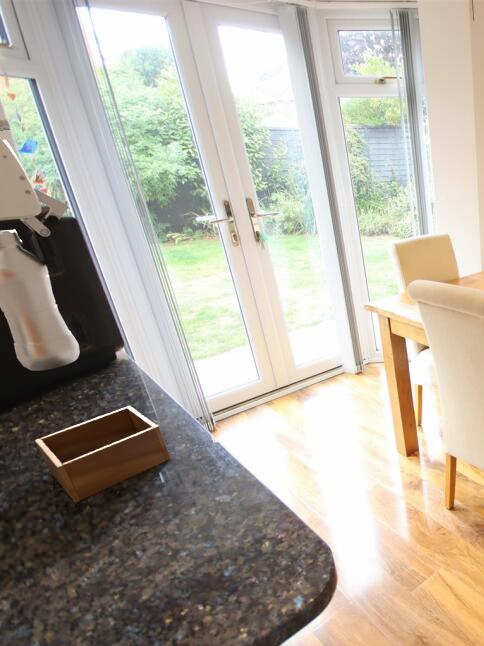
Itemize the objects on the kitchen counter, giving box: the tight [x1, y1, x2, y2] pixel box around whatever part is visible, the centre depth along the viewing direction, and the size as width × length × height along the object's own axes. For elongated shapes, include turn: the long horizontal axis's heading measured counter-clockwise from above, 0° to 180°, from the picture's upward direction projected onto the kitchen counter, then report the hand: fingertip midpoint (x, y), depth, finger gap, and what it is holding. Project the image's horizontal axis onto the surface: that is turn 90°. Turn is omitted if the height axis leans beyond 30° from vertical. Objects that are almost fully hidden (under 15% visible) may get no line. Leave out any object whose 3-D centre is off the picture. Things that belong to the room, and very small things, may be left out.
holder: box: [34, 405, 172, 504], centre depth 70 cm, size 12×12×6 cm
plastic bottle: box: [0, 229, 81, 372], centre depth 66 cm, size 6×7×20 cm
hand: (13, 268), depth 64 cm, fingers closed on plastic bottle, 6 cm apart
